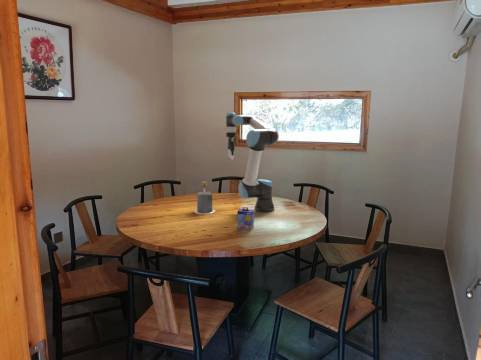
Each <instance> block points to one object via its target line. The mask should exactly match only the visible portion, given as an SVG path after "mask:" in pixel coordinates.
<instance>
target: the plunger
mask: <svg viewBox="0 0 481 360" xmlns="http://www.w3.org/2000/svg"><path fill="white" fill-rule="evenodd" d="M201 187H203V192H204V193H205V192H206V187H208V181H206V180H205V181H201Z"/></svg>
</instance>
